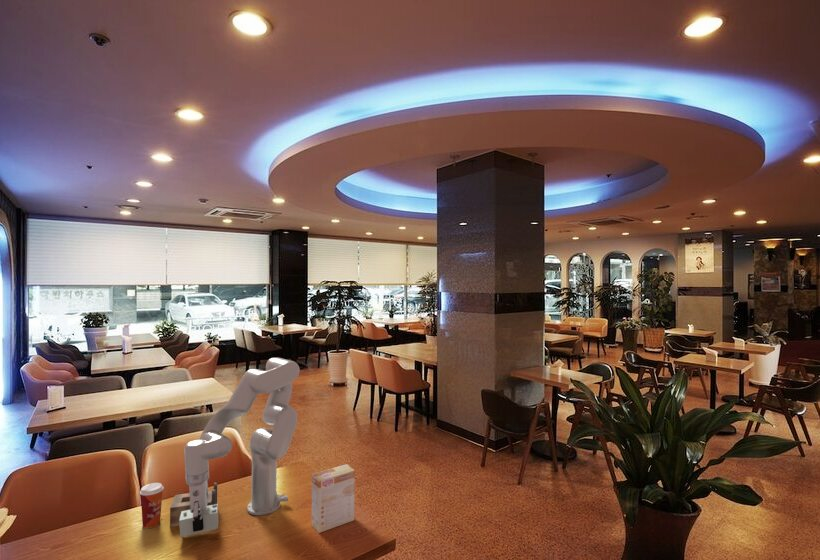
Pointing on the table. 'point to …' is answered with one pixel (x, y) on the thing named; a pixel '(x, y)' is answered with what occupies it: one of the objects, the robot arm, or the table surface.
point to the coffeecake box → (332, 497)
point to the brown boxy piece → (187, 504)
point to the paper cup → (151, 504)
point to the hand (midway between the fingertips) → (199, 524)
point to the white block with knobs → (208, 520)
